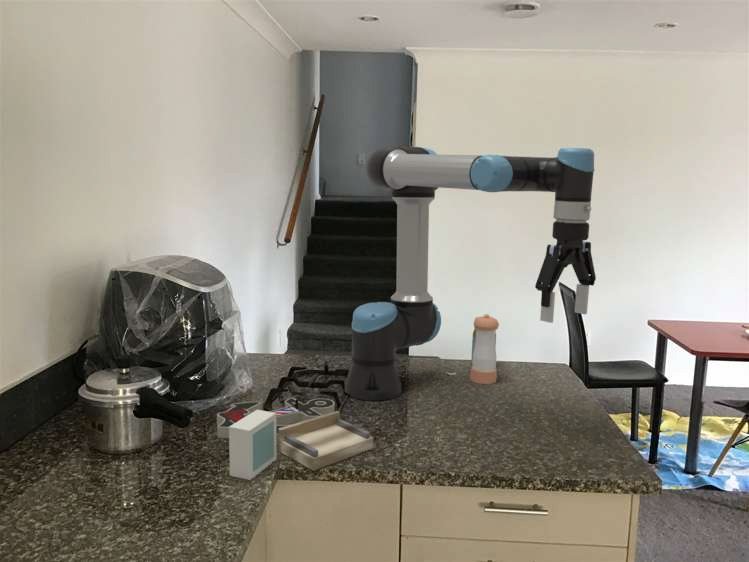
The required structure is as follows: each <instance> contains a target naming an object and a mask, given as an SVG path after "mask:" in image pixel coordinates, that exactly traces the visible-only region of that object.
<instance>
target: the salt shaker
mask: <svg viewBox="0 0 749 562" xmlns="http://www.w3.org/2000/svg"><path fill="white" fill-rule="evenodd" d="M478 317H479V318H476V317H475V318H476V320H475V319H474V321H473V327H475V328H476V342H475V347H474V352H473V366H472V365H471V368H470V381H471V382H473V383H476V384H480V385H491V384H492V385H493V384H495V383H497V373H498V369H497V367H496V366H497V351H496V350H497V347H496V348H495V335H496V336H497V333H496V331H497V330H498V328H499V325H500V324H499V321H498V319H496V318H495V317H492V316H490V315H489V314H484V315H483V316H478ZM475 328H474V329H475Z"/></svg>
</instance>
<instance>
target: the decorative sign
mask: <svg viewBox="0 0 749 562" xmlns="http://www.w3.org/2000/svg"><path fill="white" fill-rule="evenodd" d="M296 400H297V399H296V398H294V397H289V398H287V399H286V400H285V401H284V407H282V408H279V409H278V408H277V409H273V410H270V411H268V412H273V413H276V446H278V429H279V428H282V427H286V426H289V425H292V424H296V423H299V422H302V421H305V420H309V419H312V418H315V417H319V416H322V415H325V414H329V413H332V412H335V411H336V410H335V407H336V406H335V401H334V400H333V399H330V398H314V399H310V400H308V401H307V403H302V402H300V401H299V400H298V408H297V409H296V407H295V404H296ZM256 410H262V402H261V401H246V402H238V403H231V404H230V408H229V409H227V410H226V411H220V412H218V413H217V414H216V425H217V430H216V431H217V439H229V426H231V425H233V424H234V423H236V422H238V421H239V420H241V419H243V418H244V417H246V416H247V415H249V414H251V413H252V412H254V411H256Z"/></svg>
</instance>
